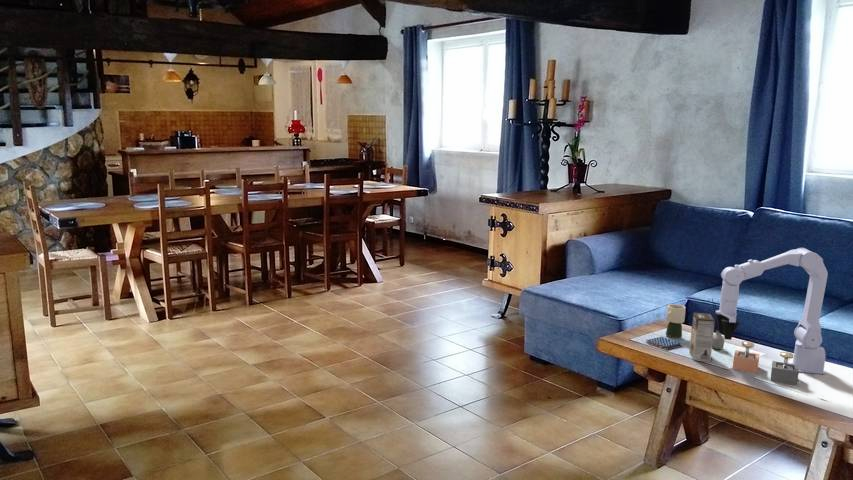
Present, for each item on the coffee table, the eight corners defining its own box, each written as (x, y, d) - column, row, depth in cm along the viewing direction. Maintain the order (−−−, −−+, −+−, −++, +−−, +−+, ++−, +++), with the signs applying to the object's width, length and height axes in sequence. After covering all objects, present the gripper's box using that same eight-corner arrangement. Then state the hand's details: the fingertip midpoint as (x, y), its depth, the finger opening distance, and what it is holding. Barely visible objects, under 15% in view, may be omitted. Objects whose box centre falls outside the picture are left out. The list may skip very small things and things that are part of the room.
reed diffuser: (731, 350, 260) (736, 301, 257) (721, 354, 256) (727, 303, 253) (706, 343, 268) (711, 295, 265) (697, 346, 264) (702, 297, 261)
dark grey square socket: (796, 378, 233) (798, 365, 232) (797, 385, 226) (798, 372, 225) (770, 373, 237) (772, 360, 236) (770, 380, 230) (772, 367, 229)
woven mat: (660, 340, 272) (661, 335, 272) (683, 347, 264) (683, 342, 263) (643, 344, 267) (644, 339, 266) (666, 351, 258) (666, 346, 258)
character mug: (674, 332, 282) (676, 302, 280) (689, 337, 276) (692, 306, 274) (658, 336, 276) (661, 305, 273) (673, 341, 270) (676, 310, 268)
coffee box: (688, 352, 257) (692, 312, 254) (706, 354, 256) (710, 313, 253) (692, 360, 248) (697, 318, 245) (711, 362, 247) (715, 320, 244)
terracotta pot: (757, 366, 243) (759, 354, 243) (757, 373, 236) (758, 360, 236) (733, 362, 247) (735, 350, 246) (732, 368, 240) (734, 356, 239)
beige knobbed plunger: (792, 368, 232) (794, 353, 231) (792, 372, 227) (794, 357, 227) (777, 365, 234) (779, 350, 233) (777, 369, 230) (779, 354, 229)
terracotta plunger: (754, 357, 242) (755, 342, 241) (753, 360, 238) (755, 346, 237) (739, 354, 244) (741, 340, 243) (738, 358, 240) (740, 343, 239)
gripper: (712, 294, 250) (708, 329, 253) (722, 304, 236) (718, 341, 239) (732, 295, 249) (728, 330, 252) (743, 305, 235) (739, 342, 237)
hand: (725, 336), depth 245 cm, fingers open, 7 cm apart
